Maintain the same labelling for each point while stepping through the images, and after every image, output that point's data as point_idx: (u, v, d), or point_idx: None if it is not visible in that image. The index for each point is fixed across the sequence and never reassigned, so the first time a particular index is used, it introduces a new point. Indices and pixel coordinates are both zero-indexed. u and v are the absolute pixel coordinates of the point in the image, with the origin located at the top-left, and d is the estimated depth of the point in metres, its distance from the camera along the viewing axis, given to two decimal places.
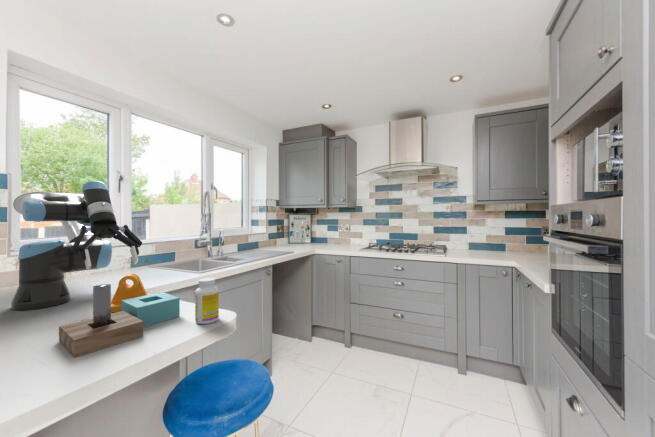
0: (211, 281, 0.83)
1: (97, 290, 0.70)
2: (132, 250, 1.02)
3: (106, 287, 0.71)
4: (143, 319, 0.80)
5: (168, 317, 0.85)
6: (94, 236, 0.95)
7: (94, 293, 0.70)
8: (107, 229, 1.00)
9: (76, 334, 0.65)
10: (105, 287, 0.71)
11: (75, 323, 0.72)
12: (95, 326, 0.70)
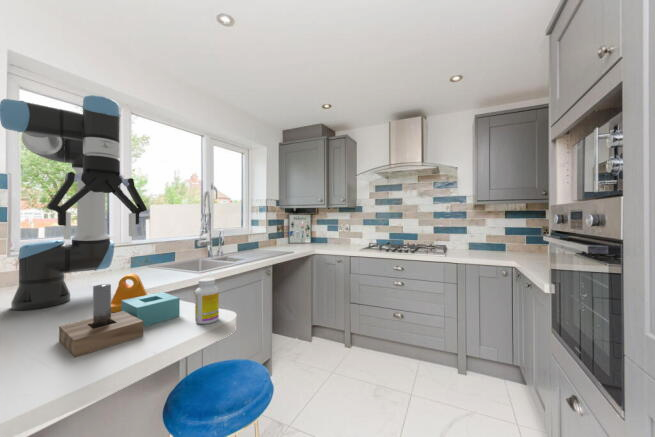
0: (211, 281, 0.83)
1: (97, 290, 0.70)
2: (131, 218, 0.77)
3: (106, 287, 0.71)
4: (143, 319, 0.80)
5: (168, 317, 0.85)
6: (84, 192, 0.68)
7: (94, 293, 0.70)
8: (104, 182, 0.71)
9: (76, 334, 0.65)
10: (105, 287, 0.71)
11: (75, 323, 0.72)
12: (95, 326, 0.70)
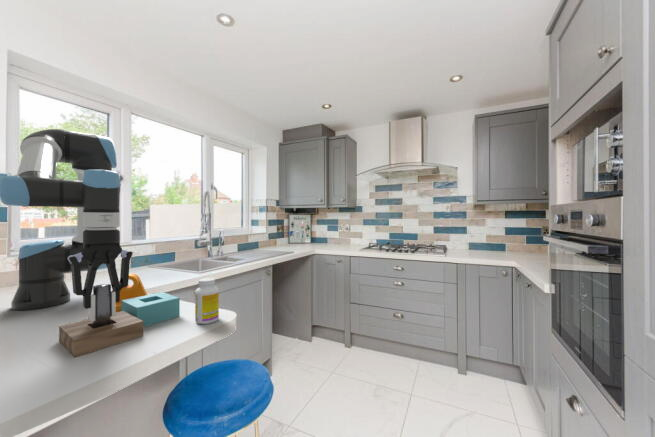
0: (211, 281, 0.83)
1: (97, 290, 0.70)
2: (111, 297, 0.73)
3: (106, 287, 0.71)
4: (143, 319, 0.80)
5: (168, 317, 0.85)
6: (94, 270, 0.69)
7: (94, 293, 0.70)
8: (104, 252, 0.71)
9: (76, 334, 0.65)
10: (105, 287, 0.71)
11: (75, 323, 0.72)
12: (95, 326, 0.70)
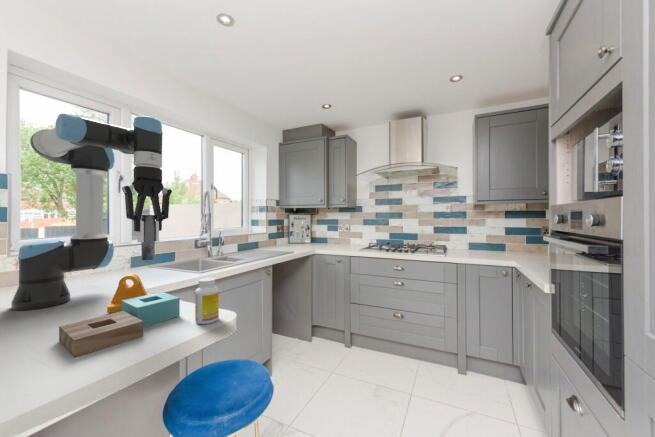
0: (211, 281, 0.83)
1: (145, 217, 0.84)
2: (155, 225, 0.87)
3: (152, 215, 0.85)
4: (143, 319, 0.80)
5: (168, 317, 0.85)
6: (142, 200, 0.83)
7: (142, 220, 0.84)
8: (150, 186, 0.85)
9: (76, 334, 0.65)
10: (151, 215, 0.85)
11: (75, 323, 0.72)
12: (143, 247, 0.84)
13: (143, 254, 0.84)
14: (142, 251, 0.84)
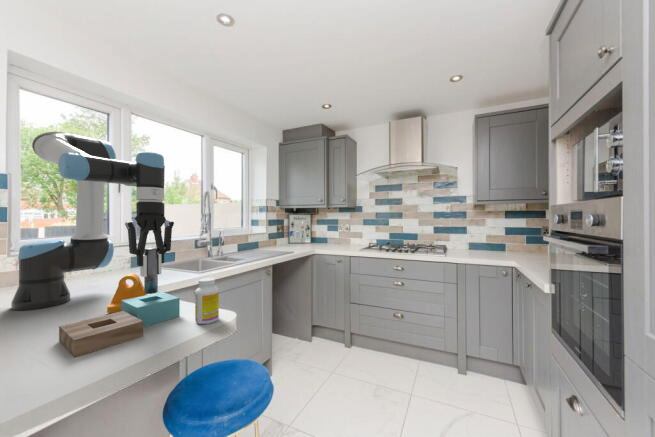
0: (211, 281, 0.83)
1: (148, 251, 0.85)
2: None
3: (155, 249, 0.86)
4: (143, 319, 0.80)
5: (168, 317, 0.85)
6: (145, 235, 0.84)
7: (145, 254, 0.85)
8: (153, 221, 0.86)
9: (76, 334, 0.65)
10: (154, 249, 0.86)
11: (75, 323, 0.72)
12: (146, 281, 0.85)
13: (146, 288, 0.85)
14: (145, 285, 0.85)
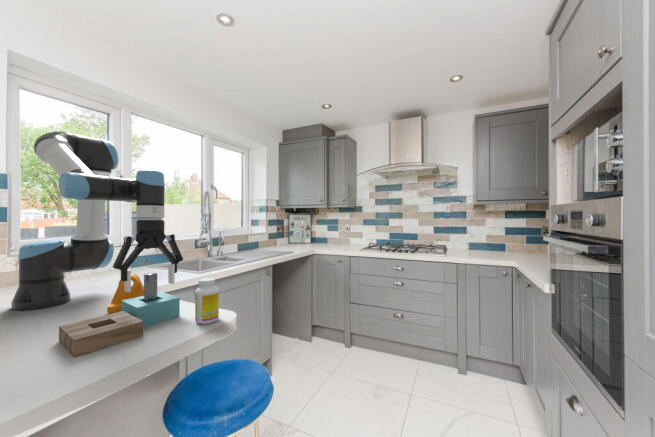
0: (211, 281, 0.83)
1: (148, 277, 0.85)
2: (171, 268, 0.91)
3: (154, 275, 0.86)
4: (143, 319, 0.80)
5: (168, 317, 0.85)
6: (139, 251, 0.83)
7: (145, 280, 0.85)
8: (153, 240, 0.86)
9: (76, 334, 0.65)
10: (153, 275, 0.86)
11: (75, 323, 0.72)
12: None
13: None
14: None
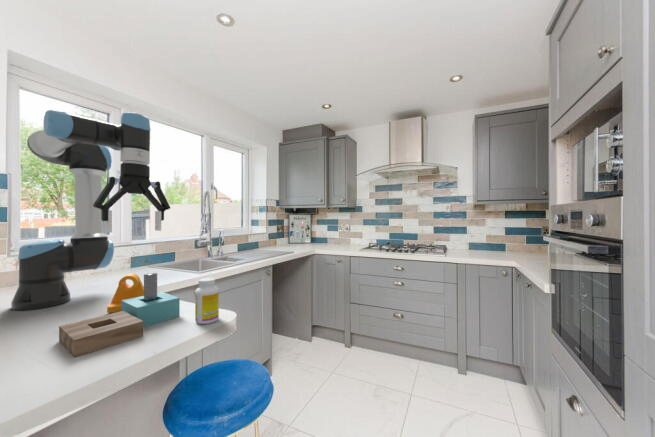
0: (211, 281, 0.83)
1: (147, 277, 0.85)
2: (157, 215, 0.91)
3: (154, 275, 0.86)
4: (143, 319, 0.80)
5: (168, 317, 0.85)
6: (122, 193, 0.82)
7: (145, 280, 0.85)
8: (137, 185, 0.85)
9: (76, 334, 0.65)
10: (153, 275, 0.86)
11: (75, 323, 0.72)
12: None
13: None
14: None
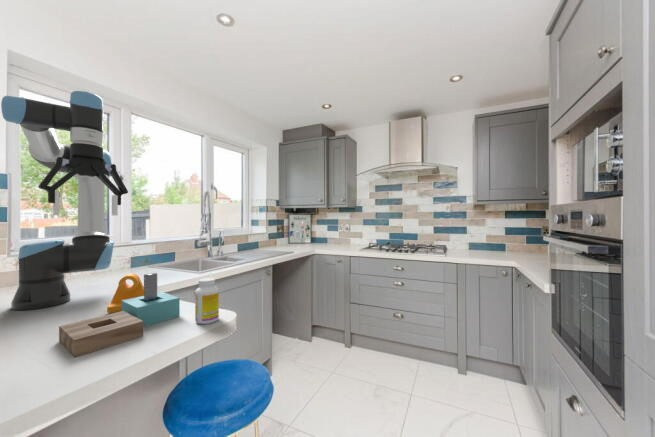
0: (211, 281, 0.83)
1: (148, 277, 0.85)
2: (113, 199, 0.87)
3: (154, 275, 0.86)
4: (143, 319, 0.80)
5: (168, 317, 0.85)
6: (70, 175, 0.78)
7: (145, 280, 0.85)
8: (89, 167, 0.82)
9: (76, 334, 0.65)
10: (153, 275, 0.86)
11: (75, 323, 0.72)
12: None
13: None
14: None
